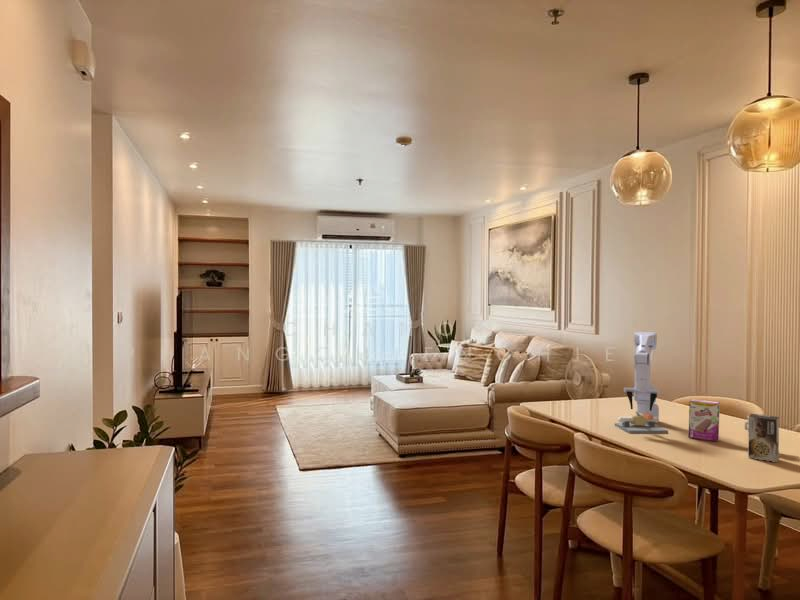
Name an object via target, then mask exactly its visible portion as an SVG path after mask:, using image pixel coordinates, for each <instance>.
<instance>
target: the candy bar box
mask: <svg viewBox="0 0 800 600" xmlns="http://www.w3.org/2000/svg"><path fill="white" fill-rule="evenodd" d="M720 406H721V405H720V402H719V401H710V400H703V399H693V398H691V399H690V400H689V405H688V407H689V410H688V438H689V439H695V440H703V441H709V442H714V441H715V443H718V442H719V440H720V409H721V408H720Z"/></svg>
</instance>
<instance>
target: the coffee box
mask: <svg viewBox="0 0 800 600" xmlns="http://www.w3.org/2000/svg"><path fill="white" fill-rule="evenodd" d="M779 417H780V416H774V415H767V414H765V415H764V414H759V413H758V414H757V413H749V415H748V416H747V422H748V424H747V427H748V430H747V432H748V431H749V432H748V441H747V442H748V446H747V447H748V450H747V451H748V453H747V454H748V457H749V458H748V457H747V458H748V459H751V458H754V459H753V460H757V459H759V460H758V461H763V460H766V461H765V462H769V461H772V462H771V463H775V462H777V461H778V462H779V460H780V455H779V454H780V453H779V452H780V450H779V447H780V445H779V442H780V441H779V439H780V437H779V435H780V433H779V431H780V428H779V426H780V425H779V423H780V422H779V421H780V418H779ZM778 462H777V463H778Z"/></svg>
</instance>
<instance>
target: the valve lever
mask: <svg viewBox="0 0 800 600" xmlns="http://www.w3.org/2000/svg"><path fill="white" fill-rule="evenodd" d="M635 414H639V415H641V416H643V417H644V418H646V419H648V420H653V415H651V414H648V413H642V412H640V411H637V410H636V411H635Z"/></svg>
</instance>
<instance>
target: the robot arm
mask: <svg viewBox="0 0 800 600" xmlns="http://www.w3.org/2000/svg"><path fill="white" fill-rule="evenodd" d="M657 335H658V333H657V332H656V331H654V332H652V331H651V332H650V331H646V332H645V331H644V332H643V331H635V332H634V335H633V336H634V346H635V349H636V350H635V352H634V354H633V364H634V366H633V367H634V387H623V392H624V393H626V396H627V398H628V400H629V405H630V409H631V410H633V408H634V407H633V405H634V404H633V400H634V401H635V402H636V411H640V412H642V413H648V414H651V415H653V417H658V418H659V417H660V416H659V415H660V408H659V405H658V403H656V402H657V396H660V392H661V391H660V390H659V389H658V390H657V388H656V386H655V385H653V384H652V383H651V354H652V351H653V350H655V349H657V340H658V338H657V337H658V336H657ZM659 419H660V418H659ZM658 423H660V420H659V422H658Z"/></svg>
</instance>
